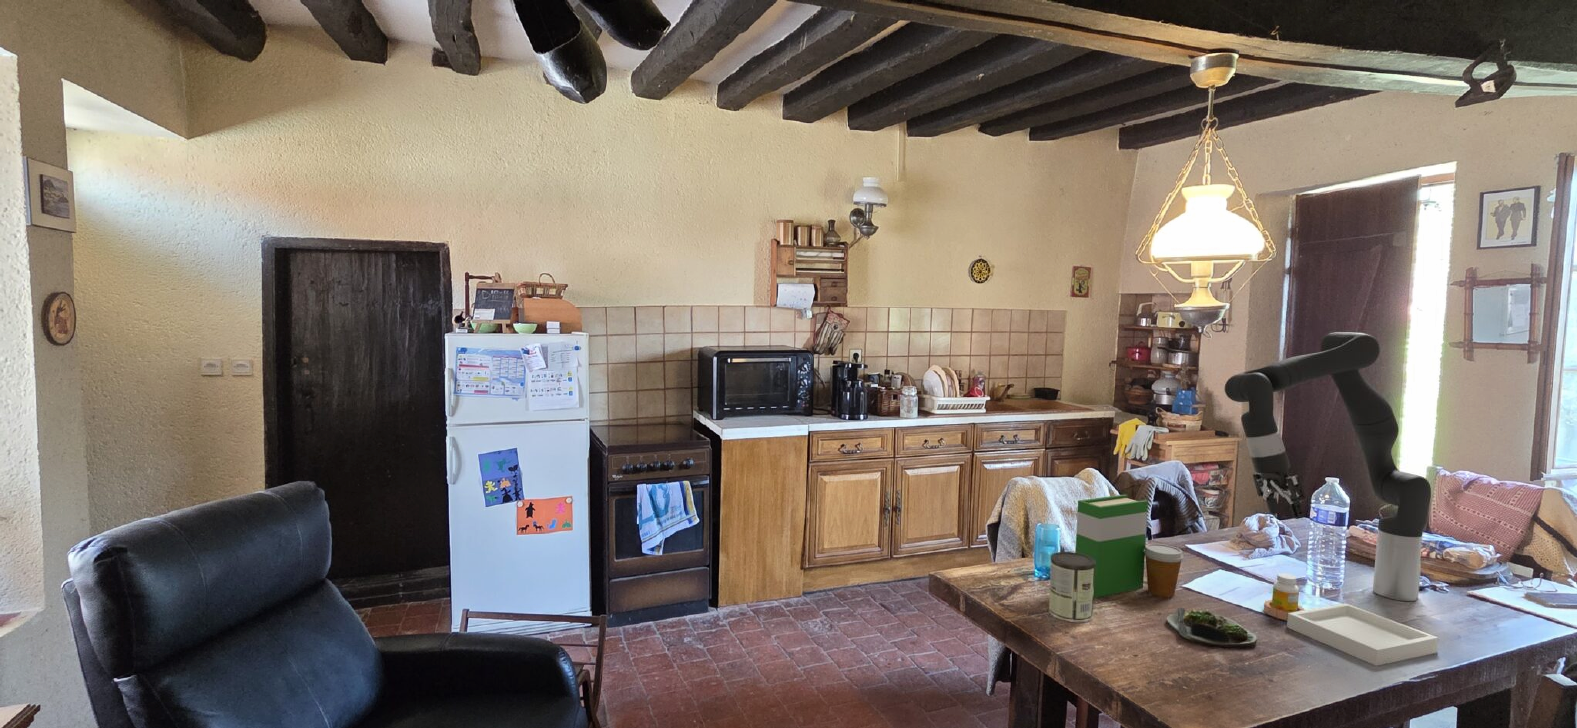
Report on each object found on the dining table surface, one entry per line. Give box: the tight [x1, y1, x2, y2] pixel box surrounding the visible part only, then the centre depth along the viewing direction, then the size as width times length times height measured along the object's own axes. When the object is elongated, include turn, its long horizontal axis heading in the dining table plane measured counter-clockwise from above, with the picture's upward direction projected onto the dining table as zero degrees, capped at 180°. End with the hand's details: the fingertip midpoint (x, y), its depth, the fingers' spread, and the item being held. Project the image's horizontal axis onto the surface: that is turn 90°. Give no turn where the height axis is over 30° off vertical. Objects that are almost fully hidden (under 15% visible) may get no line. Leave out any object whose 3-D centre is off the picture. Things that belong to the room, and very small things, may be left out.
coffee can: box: [1048, 551, 1096, 624], centre depth 185 cm, size 10×10×14 cm
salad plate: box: [1166, 607, 1258, 650], centre depth 177 cm, size 19×18×5 cm
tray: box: [1286, 602, 1439, 667], centre depth 173 cm, size 20×20×4 cm
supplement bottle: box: [1271, 572, 1300, 612], centre depth 187 cm, size 5×5×10 cm
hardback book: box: [1074, 494, 1149, 599], centre depth 202 cm, size 18×7×24 cm, turn 115°
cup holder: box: [1263, 599, 1306, 621], centre depth 187 cm, size 8×8×2 cm
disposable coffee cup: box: [1144, 543, 1185, 598], centre depth 199 cm, size 10×10×12 cm
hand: (1287, 515), depth 185 cm, fingers open, 8 cm apart
